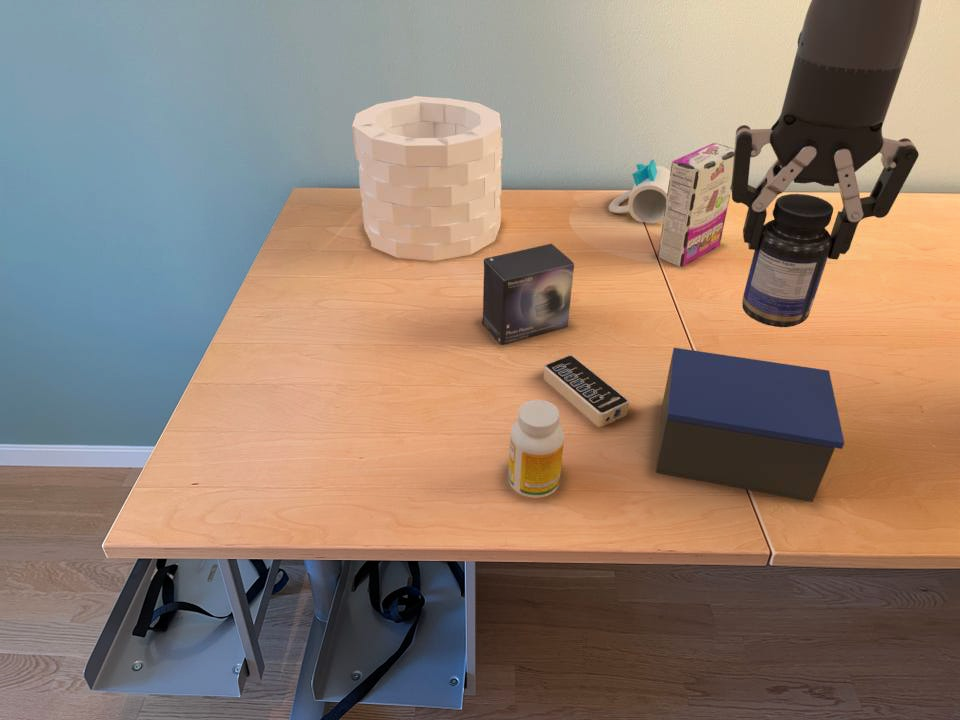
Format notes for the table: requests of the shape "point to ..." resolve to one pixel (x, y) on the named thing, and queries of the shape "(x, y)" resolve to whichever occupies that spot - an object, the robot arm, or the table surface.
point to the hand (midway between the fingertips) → (791, 250)
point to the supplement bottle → (536, 449)
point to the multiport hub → (586, 390)
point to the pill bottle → (789, 261)
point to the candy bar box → (696, 204)
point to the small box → (527, 293)
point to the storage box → (739, 458)
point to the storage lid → (754, 397)
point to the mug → (645, 194)
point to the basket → (429, 176)
